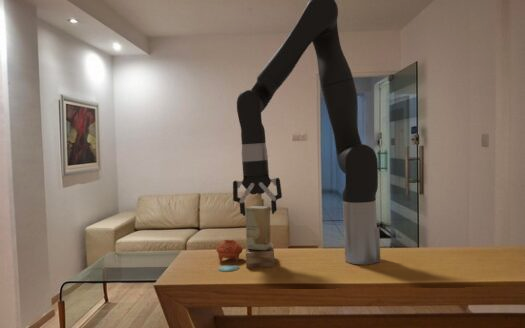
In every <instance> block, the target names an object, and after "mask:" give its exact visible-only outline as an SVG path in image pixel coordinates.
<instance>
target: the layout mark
mask: <svg viewBox="0 0 525 328" xmlns="http://www.w3.org/2000/svg"><path fill="white" fill-rule="evenodd" d="M239 269H240V266H239V265H236V264H235V265H234V264H226V265H222V266H219V267H218V268H217V270H218V271H219V272H223V273H224V272H226V273H227V272H228V273H229V272H234V271H237V270H239Z"/></svg>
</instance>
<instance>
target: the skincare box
mask: <svg viewBox="0 0 525 328" xmlns="http://www.w3.org/2000/svg"><path fill="white" fill-rule="evenodd" d="M245 213H246V215H245V230H246V231H245V232H246V237H245V238H246V239H245V240H246V245H247V249H255V250H267V249H268V248H270V247H271V244H272V242H271V241H272V240H271V206H263V205H262V206H261V205H260V206H259V205H256V206H255V205H251V206H247V207H245Z"/></svg>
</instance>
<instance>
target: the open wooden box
mask: <svg viewBox="0 0 525 328" xmlns="http://www.w3.org/2000/svg"><path fill="white" fill-rule="evenodd" d="M275 264H276V263H275V250H274V244H273V243H271V247H270V248H268V249H267V250H255V249H247V244H246V246H245V268H246V269H252V268H272V267H273V268H274V267H276V266H275Z"/></svg>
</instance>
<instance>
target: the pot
mask: <svg viewBox="0 0 525 328" xmlns="http://www.w3.org/2000/svg"><path fill="white" fill-rule="evenodd" d="M215 251H216V252H217V255H218V259H219V262H222V261H223V258H224V259H228V260H229V259H231V260H232V259H235V262H238V261H239V258H240V254H242V252H243V246H242V245H241V244H240V243H239V242H237V241H236V240H235V239H224V240H223V242H222V243H220V244H219V245H217V248H216V250H215Z"/></svg>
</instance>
